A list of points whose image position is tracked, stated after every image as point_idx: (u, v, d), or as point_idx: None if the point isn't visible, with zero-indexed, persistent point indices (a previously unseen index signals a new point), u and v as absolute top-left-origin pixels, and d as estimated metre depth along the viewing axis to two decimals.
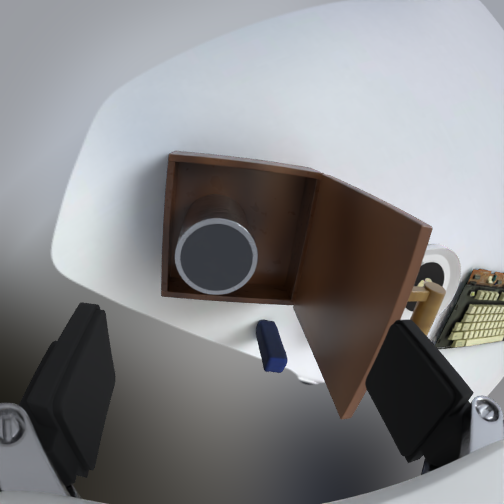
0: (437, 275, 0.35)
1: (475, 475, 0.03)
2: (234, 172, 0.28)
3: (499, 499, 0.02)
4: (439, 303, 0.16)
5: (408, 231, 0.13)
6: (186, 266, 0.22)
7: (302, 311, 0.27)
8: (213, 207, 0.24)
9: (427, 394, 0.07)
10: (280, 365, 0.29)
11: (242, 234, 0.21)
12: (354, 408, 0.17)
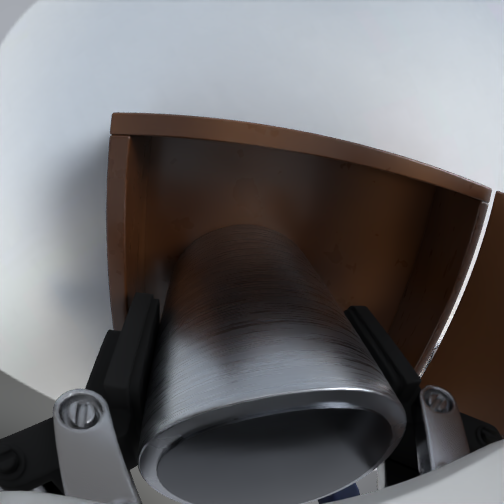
0: None
1: (475, 475, 0.03)
2: (293, 171, 0.11)
3: (499, 499, 0.02)
4: None
5: None
6: (180, 490, 0.05)
7: None
8: (258, 292, 0.07)
9: None
10: None
11: (381, 416, 0.05)
12: None
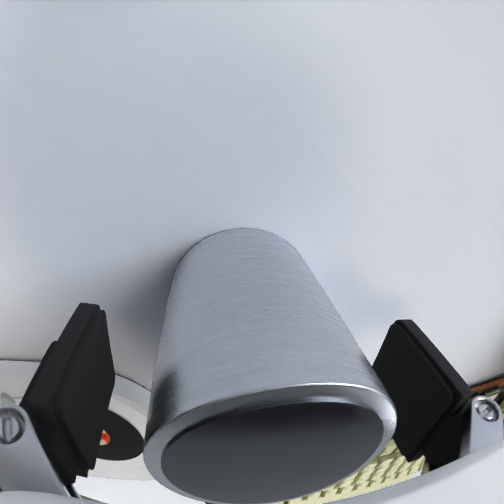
0: (109, 421, 0.15)
1: (475, 475, 0.03)
2: None
3: (499, 499, 0.02)
4: None
5: None
6: (183, 482, 0.06)
7: None
8: (257, 294, 0.07)
9: (427, 394, 0.07)
10: None
11: (372, 411, 0.05)
12: None
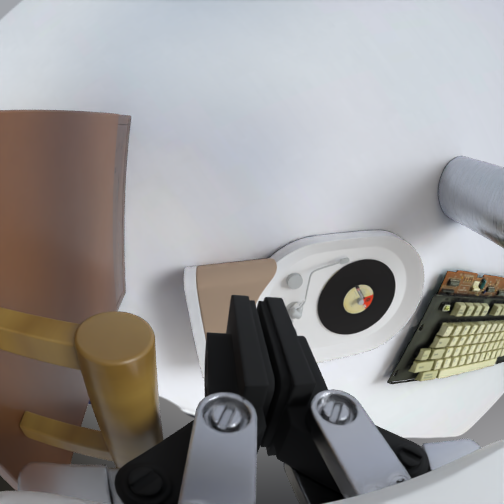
0: (381, 280, 0.24)
1: (475, 475, 0.03)
2: None
3: (499, 499, 0.02)
4: (114, 390, 0.05)
5: None
6: None
7: None
8: (503, 167, 0.17)
9: None
10: None
11: None
12: None
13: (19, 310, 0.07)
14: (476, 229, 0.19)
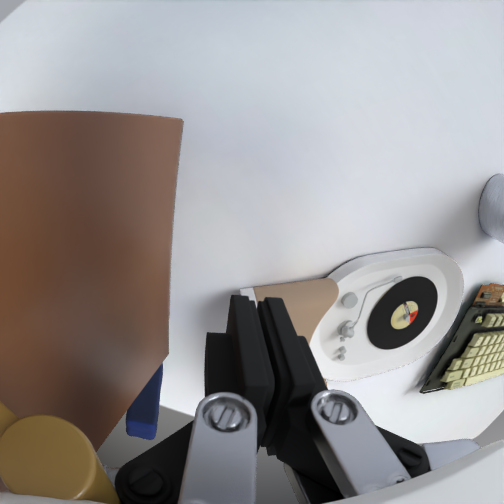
0: (426, 296, 0.23)
1: (475, 475, 0.03)
2: None
3: (499, 499, 0.02)
4: None
5: None
6: None
7: None
8: None
9: None
10: (146, 431, 0.17)
11: None
12: None
13: (4, 350, 0.05)
14: None
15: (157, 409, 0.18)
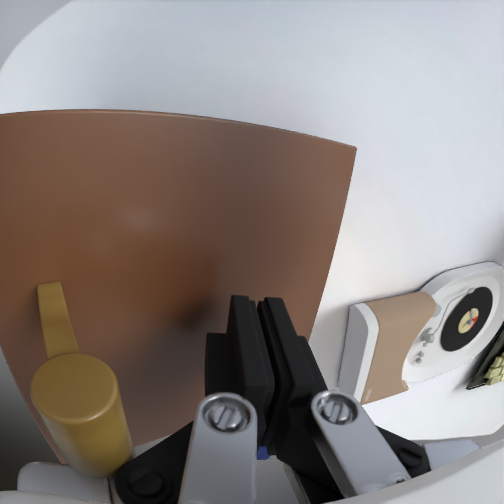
0: (485, 303, 0.23)
1: (475, 475, 0.03)
2: None
3: (499, 499, 0.02)
4: None
5: None
6: None
7: None
8: None
9: None
10: (265, 452, 0.17)
11: None
12: (53, 450, 0.08)
13: (117, 310, 0.08)
14: None
15: None
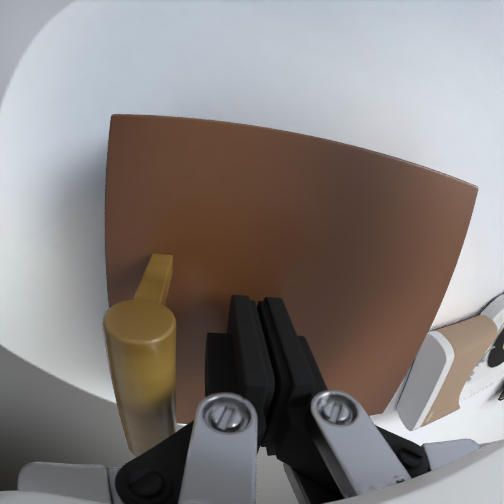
0: None
1: (475, 475, 0.03)
2: None
3: (499, 499, 0.02)
4: None
5: None
6: None
7: None
8: None
9: None
10: None
11: None
12: None
13: (218, 293, 0.10)
14: None
15: None
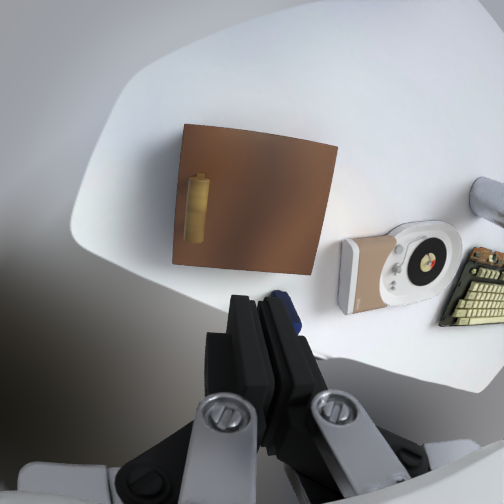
0: (440, 251, 0.37)
1: (475, 475, 0.03)
2: None
3: (499, 499, 0.02)
4: (188, 187, 0.23)
5: None
6: None
7: None
8: None
9: None
10: (295, 330, 0.31)
11: None
12: None
13: (221, 189, 0.27)
14: (492, 220, 0.32)
15: (298, 316, 0.32)
